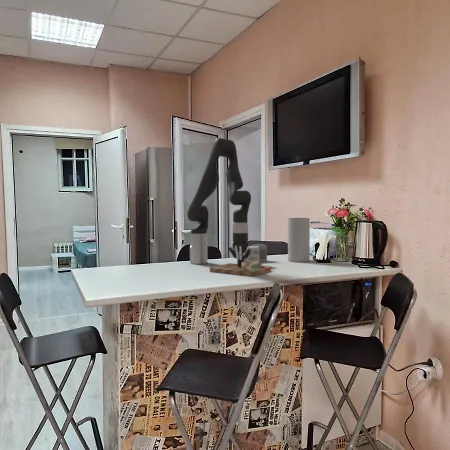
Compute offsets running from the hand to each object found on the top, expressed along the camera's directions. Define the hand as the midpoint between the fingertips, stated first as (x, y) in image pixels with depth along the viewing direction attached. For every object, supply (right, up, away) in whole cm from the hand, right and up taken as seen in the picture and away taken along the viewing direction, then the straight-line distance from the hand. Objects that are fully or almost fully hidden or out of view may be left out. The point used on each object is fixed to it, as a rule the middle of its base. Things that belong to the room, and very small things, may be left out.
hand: (240, 267), depth 194 cm
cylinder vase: (+36, -1, +40) cm, 53 cm away
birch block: (+5, -1, -3) cm, 5 cm away
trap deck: (0, -3, +6) cm, 7 cm away
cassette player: (+9, -1, +38) cm, 40 cm away
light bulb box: (+6, -2, +23) cm, 24 cm away
